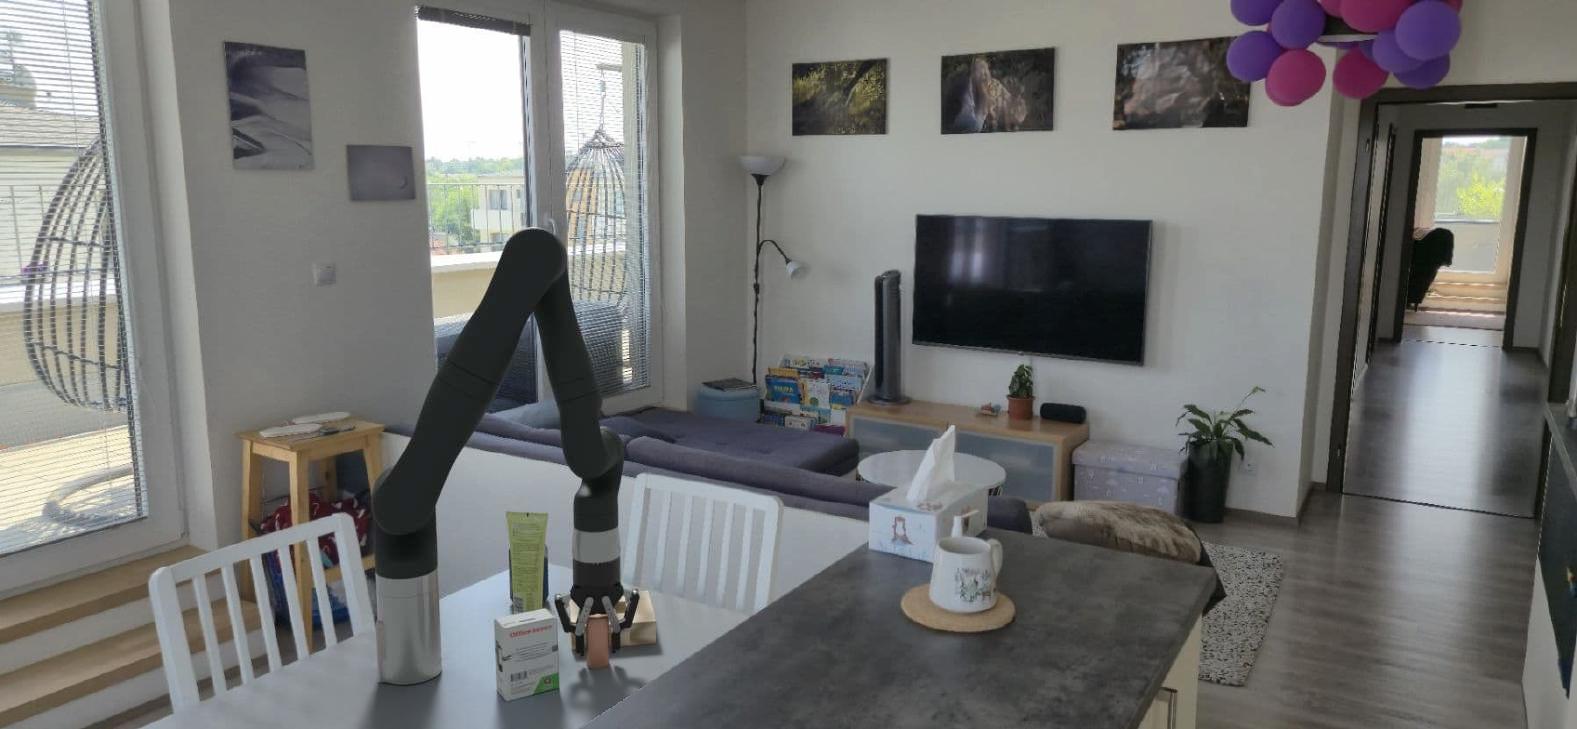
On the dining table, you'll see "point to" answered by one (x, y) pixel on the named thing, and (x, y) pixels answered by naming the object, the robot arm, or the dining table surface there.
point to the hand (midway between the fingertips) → (597, 653)
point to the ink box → (526, 654)
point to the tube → (527, 558)
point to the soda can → (545, 577)
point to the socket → (641, 625)
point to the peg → (597, 641)
